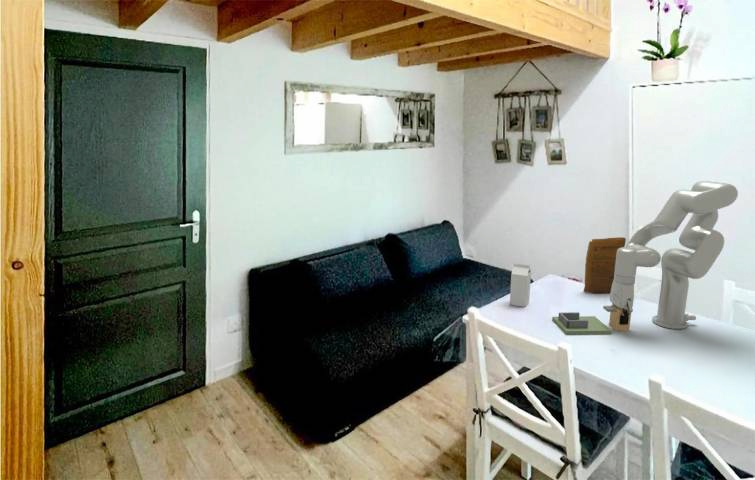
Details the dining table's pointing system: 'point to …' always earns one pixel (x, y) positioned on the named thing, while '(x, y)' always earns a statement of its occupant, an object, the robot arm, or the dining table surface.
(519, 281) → the milk carton
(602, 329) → the green base plate
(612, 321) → the tan wooden block
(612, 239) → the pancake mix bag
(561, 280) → the dining table surface
